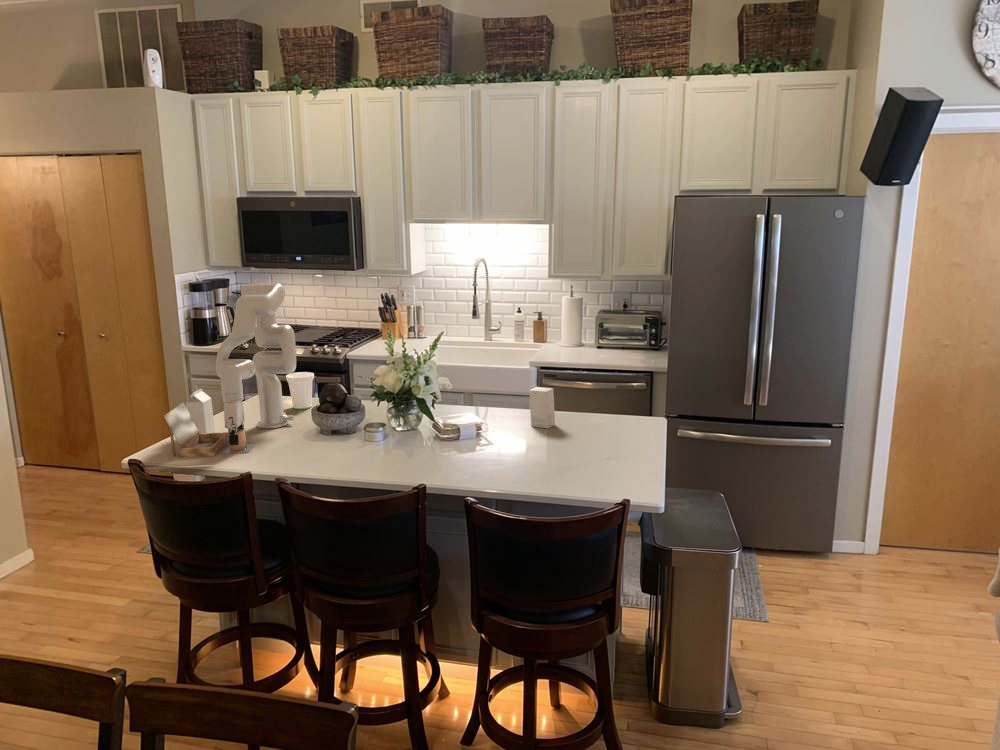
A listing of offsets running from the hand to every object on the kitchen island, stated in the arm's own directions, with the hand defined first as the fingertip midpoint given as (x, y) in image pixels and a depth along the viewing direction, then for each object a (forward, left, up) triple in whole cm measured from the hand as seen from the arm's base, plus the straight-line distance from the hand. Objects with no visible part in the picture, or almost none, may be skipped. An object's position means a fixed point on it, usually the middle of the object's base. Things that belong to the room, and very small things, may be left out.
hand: (237, 441), depth 285 cm
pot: (0, 0, -3) cm, 3 cm away
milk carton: (+20, -21, -4) cm, 29 cm away
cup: (-12, -62, -4) cm, 63 cm away
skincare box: (-118, -16, -4) cm, 119 cm away
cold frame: (+15, -3, -4) cm, 16 cm away
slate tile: (0, 0, -4) cm, 4 cm away
